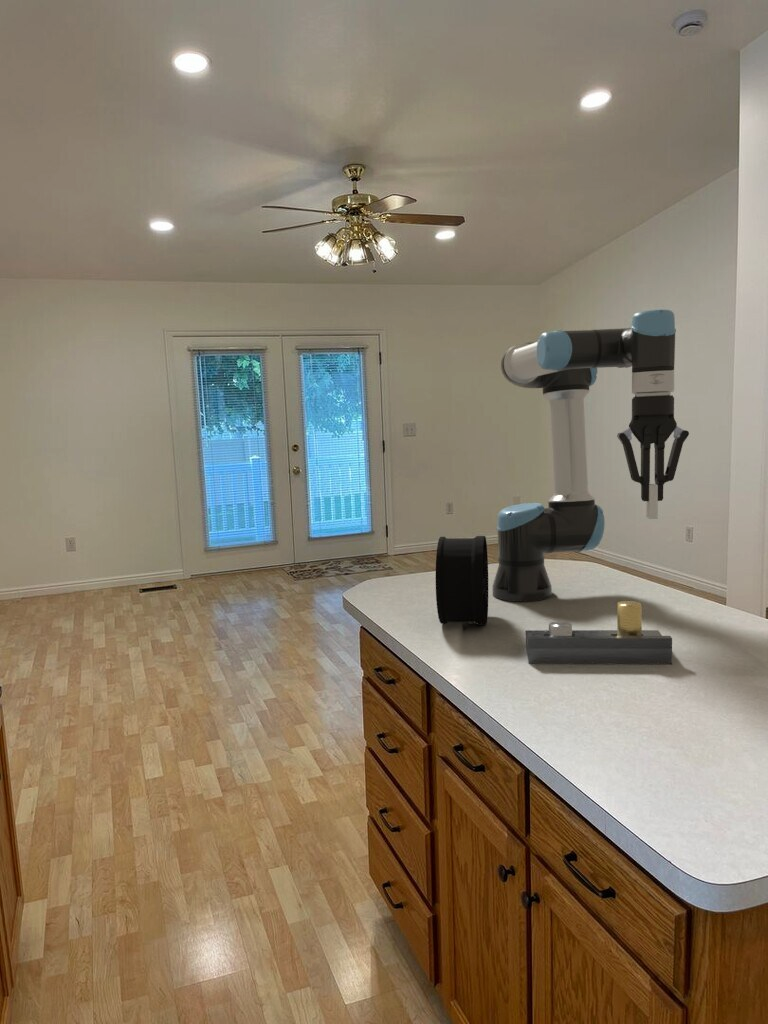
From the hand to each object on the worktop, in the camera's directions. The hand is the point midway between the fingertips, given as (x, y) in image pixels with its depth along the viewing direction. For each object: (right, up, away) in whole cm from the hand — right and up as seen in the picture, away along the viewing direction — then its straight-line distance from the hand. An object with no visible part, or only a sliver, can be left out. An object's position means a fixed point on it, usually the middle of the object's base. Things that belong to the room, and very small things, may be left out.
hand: (651, 517), depth 136 cm
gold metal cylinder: (-4, -26, 0) cm, 27 cm away
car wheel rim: (-33, -24, +25) cm, 49 cm away
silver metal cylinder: (-17, -27, +2) cm, 32 cm away
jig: (-11, -27, +1) cm, 29 cm away
